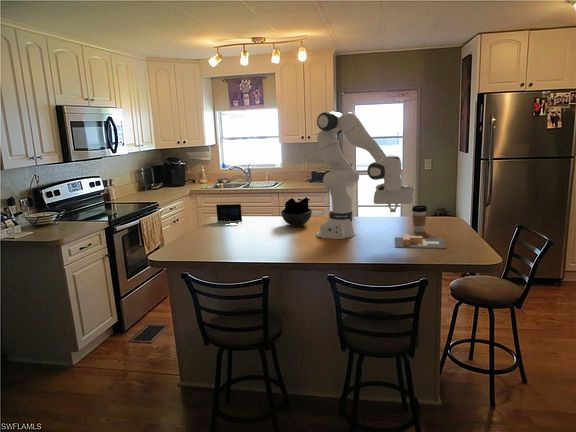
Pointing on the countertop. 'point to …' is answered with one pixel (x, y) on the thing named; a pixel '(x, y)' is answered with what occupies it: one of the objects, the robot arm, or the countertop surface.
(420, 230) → the coffee cup
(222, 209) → the laptop
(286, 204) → the coal bowl
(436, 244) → the t mat
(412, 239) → the t block
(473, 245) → the countertop surface
